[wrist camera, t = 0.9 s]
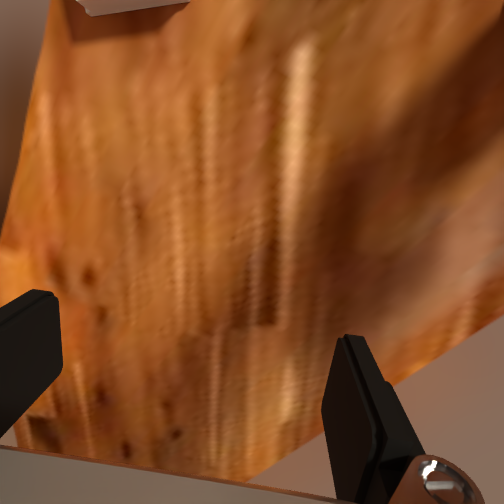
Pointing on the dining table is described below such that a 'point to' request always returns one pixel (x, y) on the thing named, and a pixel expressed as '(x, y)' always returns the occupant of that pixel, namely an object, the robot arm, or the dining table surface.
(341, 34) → the dining table surface
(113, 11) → the trough
